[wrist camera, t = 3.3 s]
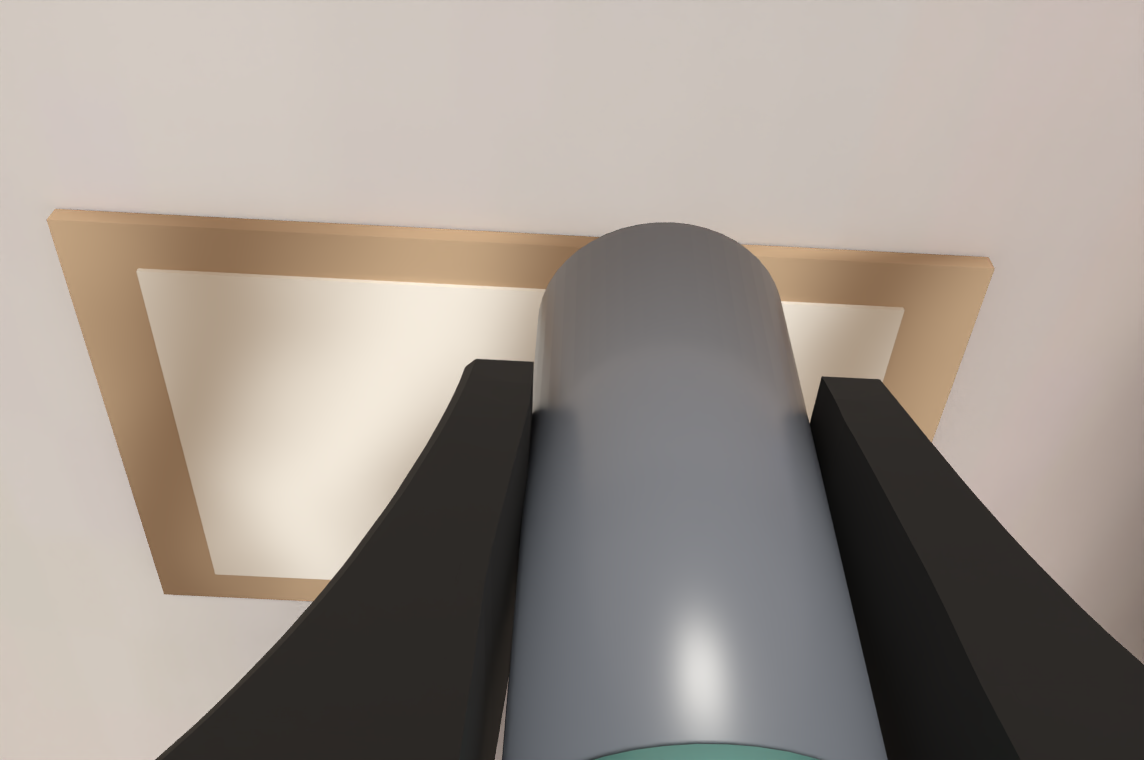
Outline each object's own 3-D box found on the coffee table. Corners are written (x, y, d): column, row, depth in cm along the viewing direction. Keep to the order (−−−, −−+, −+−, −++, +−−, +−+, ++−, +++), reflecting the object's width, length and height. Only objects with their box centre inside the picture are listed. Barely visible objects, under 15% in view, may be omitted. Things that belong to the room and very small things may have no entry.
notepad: (988, 257, 20) (996, 271, 20) (861, 614, 27) (865, 630, 27) (55, 208, 20) (44, 222, 20) (169, 581, 27) (163, 597, 26)
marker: (808, 226, 12) (1037, 991, 6) (764, 428, 14) (896, 1162, 8) (536, 211, 12) (464, 965, 6) (531, 417, 14) (472, 1143, 8)
